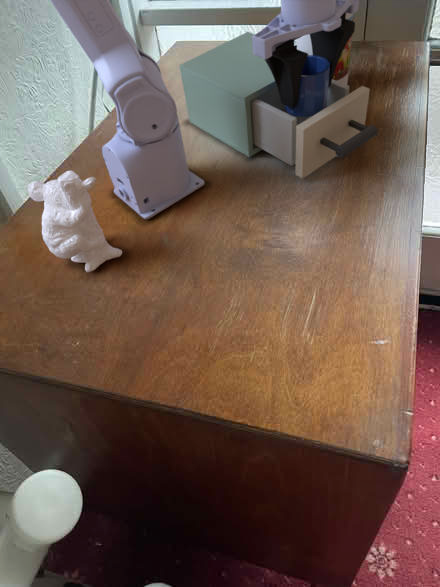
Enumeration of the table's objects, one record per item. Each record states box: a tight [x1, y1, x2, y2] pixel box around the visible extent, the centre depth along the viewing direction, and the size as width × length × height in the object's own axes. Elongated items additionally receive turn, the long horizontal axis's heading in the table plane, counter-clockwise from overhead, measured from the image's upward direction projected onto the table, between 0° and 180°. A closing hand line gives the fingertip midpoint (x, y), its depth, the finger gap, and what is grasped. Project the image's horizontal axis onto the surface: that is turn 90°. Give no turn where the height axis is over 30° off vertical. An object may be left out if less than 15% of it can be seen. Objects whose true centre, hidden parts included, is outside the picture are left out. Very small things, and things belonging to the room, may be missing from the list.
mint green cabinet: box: [178, 31, 277, 158], centre depth 65 cm, size 14×13×9 cm
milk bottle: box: [296, 13, 355, 85], centre depth 64 cm, size 8×8×20 cm
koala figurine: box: [27, 170, 123, 273], centre depth 49 cm, size 8×7×12 cm
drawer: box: [250, 79, 379, 179], centre depth 59 cm, size 16×11×7 cm
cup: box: [285, 55, 330, 117], centre depth 56 cm, size 5×5×5 cm
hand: (305, 95), depth 57 cm, fingers closed on cup, 5 cm apart
